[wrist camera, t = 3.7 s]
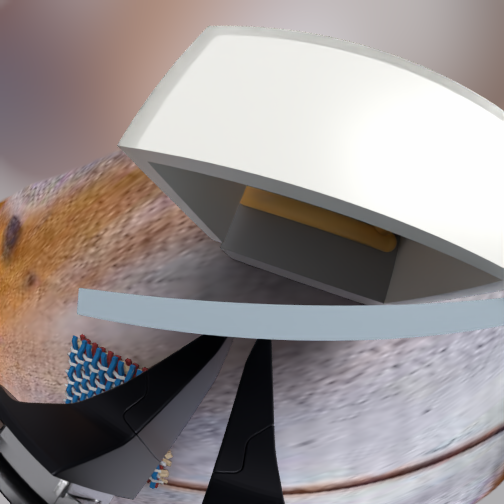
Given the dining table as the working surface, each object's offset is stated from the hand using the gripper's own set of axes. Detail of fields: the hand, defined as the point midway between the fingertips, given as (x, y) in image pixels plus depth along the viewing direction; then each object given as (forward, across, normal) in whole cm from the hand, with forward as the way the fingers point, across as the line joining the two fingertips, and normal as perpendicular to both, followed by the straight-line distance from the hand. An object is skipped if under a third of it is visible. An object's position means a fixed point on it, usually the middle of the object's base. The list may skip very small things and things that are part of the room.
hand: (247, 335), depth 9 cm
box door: (+4, -2, +2) cm, 5 cm away
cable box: (+10, -2, +1) cm, 10 cm away
